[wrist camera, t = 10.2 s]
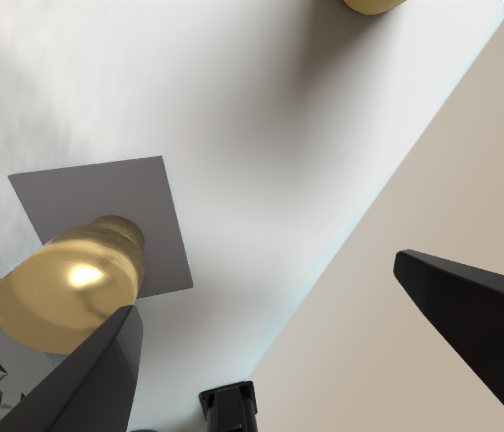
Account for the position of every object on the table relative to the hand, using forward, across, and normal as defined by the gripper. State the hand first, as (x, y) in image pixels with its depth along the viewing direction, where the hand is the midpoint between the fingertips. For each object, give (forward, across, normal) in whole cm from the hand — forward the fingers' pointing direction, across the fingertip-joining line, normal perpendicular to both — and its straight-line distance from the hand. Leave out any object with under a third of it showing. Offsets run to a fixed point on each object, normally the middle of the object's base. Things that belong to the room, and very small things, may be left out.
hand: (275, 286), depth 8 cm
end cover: (+12, +10, +3) cm, 16 cm away
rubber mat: (+13, +10, +3) cm, 17 cm away
